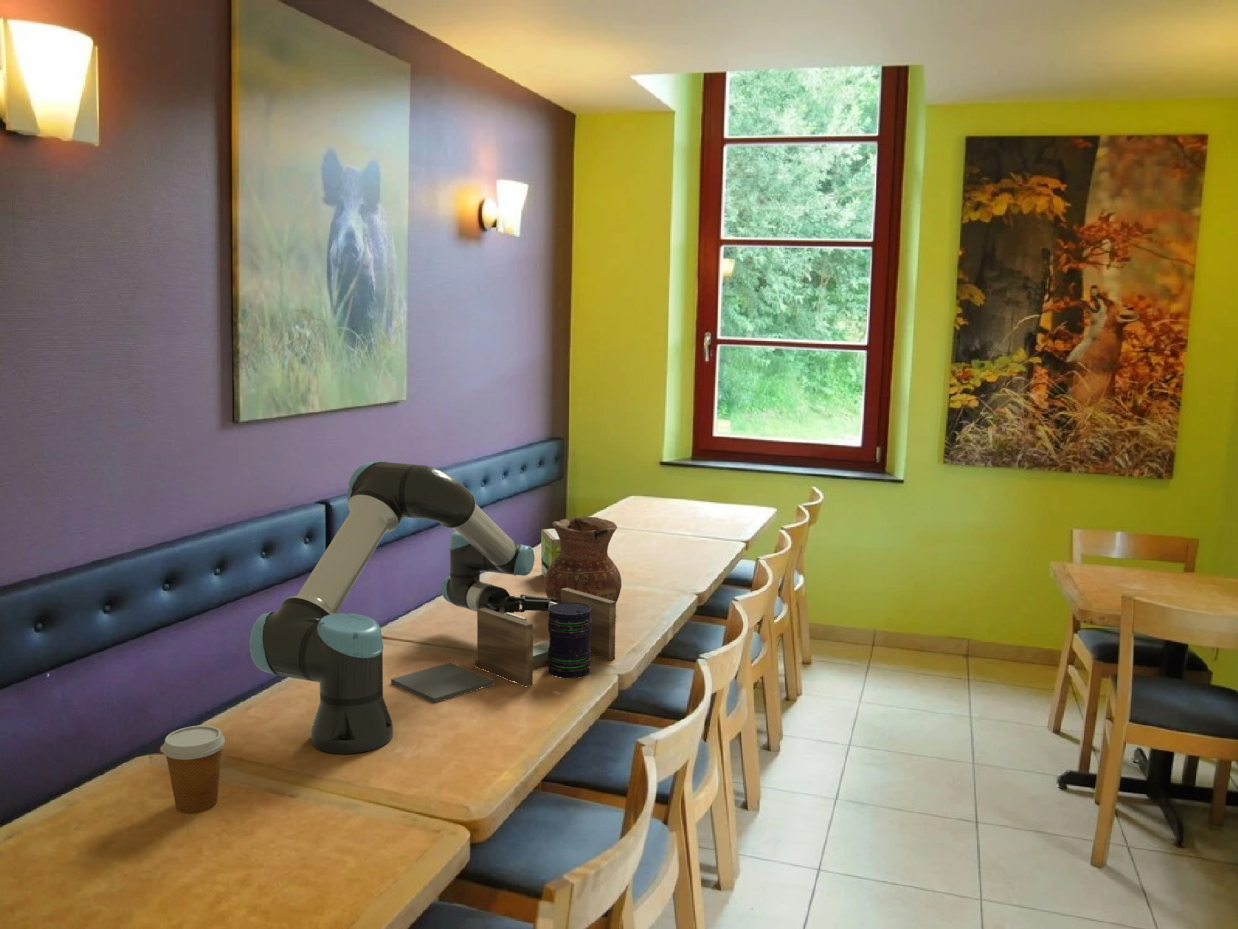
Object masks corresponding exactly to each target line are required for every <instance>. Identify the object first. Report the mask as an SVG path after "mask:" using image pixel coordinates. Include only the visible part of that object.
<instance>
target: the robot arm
mask: <svg viewBox="0 0 1238 929" xmlns="http://www.w3.org/2000/svg"><path fill="white" fill-rule="evenodd" d="M347 485H348V486H349V487H348V488H347V490H346V496H347V497H346V498H347V501H348V502H347V507H348V510H349V514H348V515H347V516H346V518H345V519H344V521H343V523H342V525H341V526H340V527H339V529H338V530H337V532H336V534H335V535H334V537H333V538H332V540H331V542H330V544H329V545H328V547H326V550H325V551H324V552H323V554H322V556H321V557H320V558H319V561H318V562H317V563H316V566H315V567H314V568H313V570H312V571H311V573H310V575H309V576H308V577H307V579H306V581H305V583H304V584H303V586H302V587H301V589H300V591H299V592H298V594H297V595H293V596H288V597H287V598H285V600H284V601H283V603H282V604H281V606H280V607H279V608H278V610H277V611H276V612H275V611H269V612H266V613H262V614H261V615H260V616H259V617H258V618H257V619H256V620H255V622H254V624H253V627H252V629H251V633H250V636H249V652H250V656H251V659H252V662H253V663H254V665H255V666H256V668H257V669H259V670H260V671H261V672H264V673H267V674H272V675H273V676H276V677H286V678H293V679H297V680H304V681H310V682H316V683H319V697H320V698H319V704H318V708H317V711H316V714H315V717H314V721H313V725H312V728H311V730H310V731H311V734H310V735H311V736H310V737H311V744H312V746H314V748H316V749H317V750H319V751H322V752H325V753H330V754H340V755H342V754H343V755H346V754H348V755H351V754H360V753H364V752H369V751H372V750H376V749H378V748H381V747H383V746H384V745H386V744H388V743H389V742H390V741H391V740H392V739H393V735H394V729H393V728H394V726H393V720H392V718H391V716H390V711H389V710H388V707H387V704H386V701H385V699H384V685H383V684H384V676H383V675H384V673H383V670H384V668H383V666H384V664H383V661H384V658H383V657H384V655H383V652H384V643H383V637H382V636H383V635H382V629H381V627H380V625H379V623H378V622H377V621H376V620H375V619H373V618H371V617H369V616H367V615H363V614H358V613H353V612H349V613H344V612H339V610H340V609H341V607H342V606H343V604H344V603H345V601H346V599H347V597H348V595H350V593H351V591H352V589H353V587H354V585H355V584H356V582H357V580H358V579H359V578H360V576H361V574H362V572H363V571H364V569H365V567H366V565H367V564H368V562H369V560H370V559H371V557H372V556H373V553H374V552H375V551H376V549H377V547H378V545H379V543H380V542H381V540H382V539H383V538H384V536H385V534H386V533H392V532H393V531H395V530H396V529H397V528H398V526H399V524H400V523H401V520H402V519H403V518H411V519H412V518H413V519H421V520H422V519H423V520H430V521H435V522H437V523H439V525H441V526H443V527H445V528H447V529H452V530H454V532H452V533H451V535H450V542H449V558H450V559H449V565H450V567H449V568H450V569H449V570H450V572H449V573H450V574H449V575H448V576H446V577H445V579H444V580H443V583H442V586H441V594H442V595H441V596H442V597H443V599H444V600H445V601H446V602H448V603H451V604H452V605H454V606H456V607H461V608H465V609H467V610H471V611H473V612H476V613H477V609H480V608H487V609H490V610H493V611H496V612H499V613H502V614H505V615H508V616H511V617H514V618H517V619H520V620H523V621H526V622H527V617H523V616H520V615H518V614H514V613H524V612H527V611H534V612H537V611H538V612H549V607H550V606H551V605H554V604H558V603H557V599H555V598H552V597H551V598H548V597H544V596H532V595H527V594H524V593H522V594H520V595H519V596H520V597H519V596H514V595H511V594H509V592H508V591H507V590H506V589H505V587H504V588H503V587H500V586H497V585H493V584H492V583H488V582H484V581H481V577H480V576H481V572H487V573H488V572H490V573H497V574H504V575H509V576H511V575H512V576H515V577H516V576H523V577H524V576H526V577H527V575H530V574H531V572H532V570H533V569H534V565H535V552H534V549H533V547H532V546H530V545H526V544H525V545H524V544H517V543H516V542H515V541H514V540H513V539H512V538H511V537H510V536H509V535H508V534H507V533H506V532H504V530H503V529H502V528H501V527H500V526H498V524H497V523H495V521H493V519H491V517H490V516H488V514H486V512H485V511H484V510H482V509H481V507H480V506H478V504H477V503H476V499H475V498H476V497H475V496H474V495H473V493H472V492H471V491H470V490H469V489H468V488H467V487H465V485H463V484H462V483H461V482H460V481H458V480H457V479H455V478H454V477H453V476H451V475H450V474H448V473H446V472H444V471H442V470H441V469H438V468H436V467H435V466H430V465H426V464H425V465H424V464H413V463H399V462H389V461H386V460H385V461H384V460H380V461H369V462H365V463H362V464H361V465H360V466H358V467H357V468H356V469H355V470H354V472H353V473H352V474H351V476H350V478H349V481H348V484H347ZM520 607H521V608H520Z"/></svg>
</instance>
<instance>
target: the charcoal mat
mask: <svg viewBox="0 0 1238 929" xmlns="http://www.w3.org/2000/svg"><path fill="white" fill-rule="evenodd" d="M390 684H391V685H394V686H396V687H398V688H400V687H401V689H402V688H403V689H402V690H405V691H407V692H409V693H411V694H413V693H414V695H416V696H418V697H420V698H423V699H424V700H427V701H428V702H431V703H434V704H436V703H440V702H442V700H443V701H445V700H444V699H446V700H449V699H452V698H456V697H458V695H459V696H462V695H465V694H468V693H471V691H472V692H475V691H477V690H476V689H478V690H480V689H479V688H481V687H485V688H487V686H488V687H491V686H493V685H492V684H494V685H495V680H494V679H492V678H490V677H487V676H485V675H482V674H480V673H477V672H475V671H473V670H470V669H468V668H464V667H462V666H459V665H458V664H455V663H452V662H447V663H444V664H443V663H442V664H440V665H437V666H432V667H429V668H426V669H421V670H418V671H415V672H412V673H408V674H404V675H401V676H396V677H393V678H390ZM490 685H491V686H490ZM474 690H475V691H474ZM464 693H465V694H464ZM461 694H462V695H461ZM455 696H456V697H455Z"/></svg>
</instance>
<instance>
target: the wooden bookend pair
mask: <svg viewBox="0 0 1238 929" xmlns="http://www.w3.org/2000/svg"><path fill="white" fill-rule="evenodd" d="M567 602H572V603H582V604H586V605H588V606H590V607H591V613H590V614H591V632H590V645H589V647H590V649H591V654H590V655H592V656H595V657H597V656H599V657H598V658H600V657H601V658H600V659H604V660H606V661H612V660H614V659H616V622H617V620H616V618H617V616H616V615H617V614H616V613H617V608H616V607H617V602H615V601H612V600H608V599H605V598H601V597H598V596H594V595H591V594H587V593H584V592H580V591H577V590H573V589H570V588H563V589H561V603H567ZM476 614H477V616H476V617H477V619H476V622H477V624H476V625H477V626H476V628H477V629H476V630H477V631H476V632H477V633H476V634H477V636H476V639H477V640H476V641H477V644H476V645H477V647H476V649H477V652H476V653H477V654H476V656H477V658H476V659H475V660H474V667H475V666H476V667H478V668H477V669H479V668H480V669H479V670H481V669H484V670H486V671H489V672H490V673H489V672H488V673H489V674H491V673H493V674H492V675H494V674H495V675H494V676H496V675H499V676H501V677H504V678H506V679H508V680H507V681H509V680H511V681H515V682H517V683H519V684H521V685H523V686H522V687H524V686H528V687H530V686H529V685H531V686H533V685H534V684H533V683H534V681H533V679H534V675H533V672H534V671H533V670H534V669H533V646H537V645H540V644H543V643H547V642H550V638H549V639H546V640H542V641H539V642H535V643H534V623H532V622H528V621H527V620H526V621H523V620H520V619H517V618H514V617H511V616H508V615H505V614H502V613H499V612H496V611H493V610H490V609H487V608H480V609H477V612H476ZM476 667H475V668H476ZM484 670H483V671H484ZM486 671H485V672H486ZM499 676H498V677H499ZM501 677H500V678H501ZM504 678H503V679H504ZM506 679H505V680H506ZM511 681H510V682H511ZM519 684H518V685H519ZM532 684H533V685H532ZM521 685H520V686H521Z"/></svg>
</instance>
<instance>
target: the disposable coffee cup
mask: <svg viewBox="0 0 1238 929" xmlns="http://www.w3.org/2000/svg"><path fill="white" fill-rule="evenodd" d="M225 742H226V737H225V736H224V734H223V733H222V730H221V729H220V728H218V727H216V726H213V725H212V726H211V725H193V726H191V725H190V726H186V727H183V728H179V729H177V730H174V731H172V732H170V733H169V734H168V735H166V737H165V738H164V743H163V744H162V746H161V748H162V751H163V753H164V755H165V757H166V763H167V768H168V772H169V773H168V774H169V777H170V778H169V779H170V783H171V788H172V793H173V798H174V804H175V809H176V811H177V812H179V813H182V814H187V815H188V814H199V813H203V812H207V811H208V810H210V809H213V808H214V807H215V806H216V805H217V803H218V795H219V794H218V793H219V783H220V776H221V775H220V774H221V772H220V771H221V762H222V753H223V747H224V745H225Z"/></svg>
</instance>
